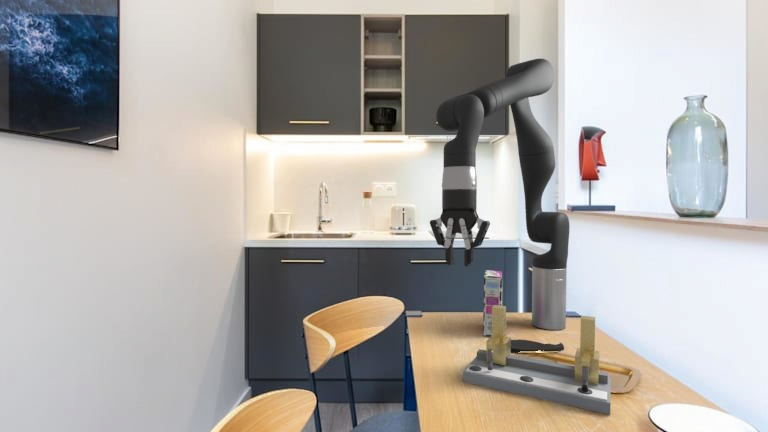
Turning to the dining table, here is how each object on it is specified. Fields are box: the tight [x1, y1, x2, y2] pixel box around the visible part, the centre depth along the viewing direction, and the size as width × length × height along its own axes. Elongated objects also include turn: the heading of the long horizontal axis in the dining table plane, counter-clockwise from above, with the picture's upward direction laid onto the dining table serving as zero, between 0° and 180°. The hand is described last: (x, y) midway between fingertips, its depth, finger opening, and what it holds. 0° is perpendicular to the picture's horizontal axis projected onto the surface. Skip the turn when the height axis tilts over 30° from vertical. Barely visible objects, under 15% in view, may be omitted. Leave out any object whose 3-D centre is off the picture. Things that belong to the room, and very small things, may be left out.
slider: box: [485, 305, 512, 370], centre depth 85 cm, size 10×4×11 cm, turn 151°
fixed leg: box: [574, 315, 600, 392], centre depth 76 cm, size 10×4×12 cm, turn 151°
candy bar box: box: [482, 269, 503, 338], centre depth 113 cm, size 11×5×16 cm, turn 164°
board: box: [462, 349, 612, 415], centre depth 81 cm, size 12×26×4 cm, turn 61°
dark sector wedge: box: [511, 339, 565, 354], centre depth 100 cm, size 8×14×2 cm, turn 79°
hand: (458, 264), depth 91 cm, fingers open, 3 cm apart
